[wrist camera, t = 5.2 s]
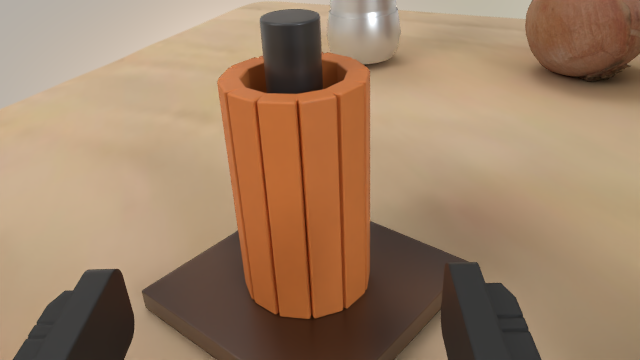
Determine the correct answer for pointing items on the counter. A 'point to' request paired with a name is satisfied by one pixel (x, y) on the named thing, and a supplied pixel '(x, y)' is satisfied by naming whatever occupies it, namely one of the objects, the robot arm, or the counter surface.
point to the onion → (584, 36)
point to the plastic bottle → (364, 29)
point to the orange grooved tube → (301, 186)
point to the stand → (315, 333)
